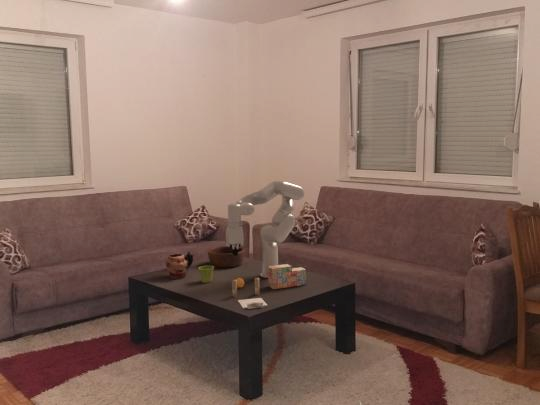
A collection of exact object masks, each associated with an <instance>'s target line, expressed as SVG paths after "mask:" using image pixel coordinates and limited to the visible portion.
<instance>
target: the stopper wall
mask: <svg viewBox="0 0 540 405" xmlns="http://www.w3.org/2000/svg"><path fill="white" fill-rule="evenodd" d="M261 308H264V306H263V302H255V303H247V308H246V309H248V310H250V309H261Z"/></svg>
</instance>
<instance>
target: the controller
mask: <svg viewBox="0 0 540 405" xmlns="http://www.w3.org/2000/svg"><path fill="white" fill-rule="evenodd" d="M183 255H184V254H183ZM184 258H185V260H186V262H187V267H186V268H187V269H188V268H189V267H191V265H193V262H194V255H193V254H191V251H187V254H186V255H184ZM186 268H185V269H186Z"/></svg>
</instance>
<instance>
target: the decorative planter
mask: <svg viewBox="0 0 540 405" xmlns="http://www.w3.org/2000/svg"><path fill="white" fill-rule="evenodd" d="M187 263H188V261H187V260H185V258H184V254H183V253H173V254H168V255H167V259H166V260H165V267H166V269H167V271H168V274H169V277H170V278H172V279H182V278H185V277H187V276H186V275H187V272H186V271H187V270H186V267H187Z"/></svg>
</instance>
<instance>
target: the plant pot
mask: <svg viewBox="0 0 540 405" xmlns="http://www.w3.org/2000/svg"><path fill="white" fill-rule="evenodd" d="M214 268H215V267H214V266H212V265H202V266H199V267H198V272H199V275H200V280H201V281H200V282H202V283H203V284H204V283H205V284H208V283H212V281H213V272H214Z"/></svg>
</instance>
